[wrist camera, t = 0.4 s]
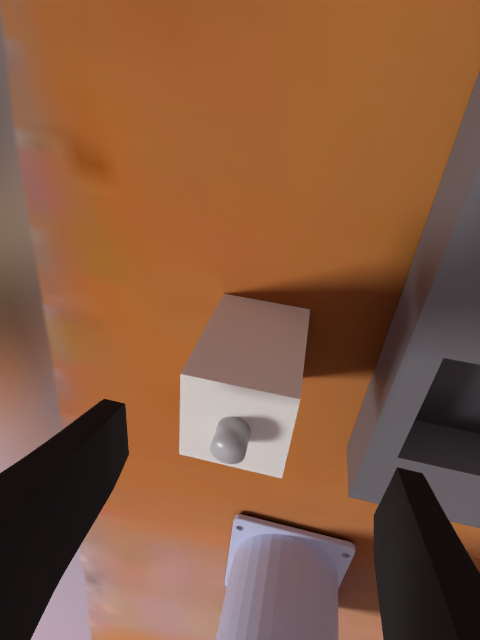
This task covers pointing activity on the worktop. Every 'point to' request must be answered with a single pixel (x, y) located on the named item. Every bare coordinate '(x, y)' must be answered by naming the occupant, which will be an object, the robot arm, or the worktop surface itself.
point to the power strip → (432, 353)
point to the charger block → (244, 385)
